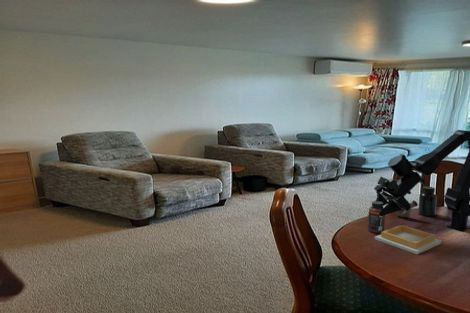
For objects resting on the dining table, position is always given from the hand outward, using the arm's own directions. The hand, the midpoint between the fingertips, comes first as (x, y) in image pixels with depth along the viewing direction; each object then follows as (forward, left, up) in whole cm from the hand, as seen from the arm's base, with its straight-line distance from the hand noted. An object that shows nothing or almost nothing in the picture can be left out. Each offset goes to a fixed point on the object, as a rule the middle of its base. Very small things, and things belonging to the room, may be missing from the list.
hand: (375, 212), depth 147 cm
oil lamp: (-24, -2, -7) cm, 25 cm away
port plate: (0, +13, -7) cm, 15 cm away
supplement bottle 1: (0, 0, -7) cm, 7 cm away
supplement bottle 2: (-36, +1, -7) cm, 37 cm away
